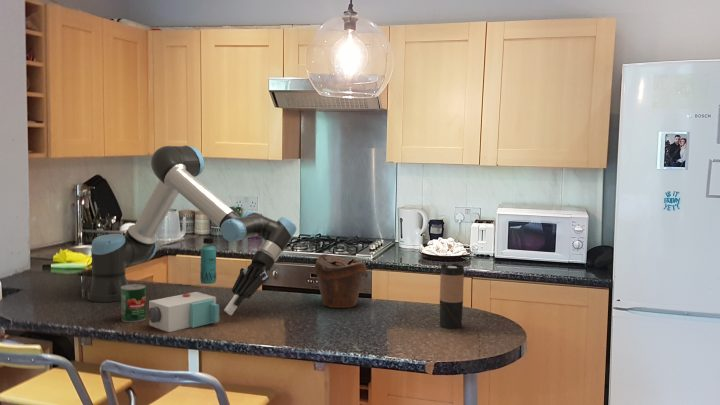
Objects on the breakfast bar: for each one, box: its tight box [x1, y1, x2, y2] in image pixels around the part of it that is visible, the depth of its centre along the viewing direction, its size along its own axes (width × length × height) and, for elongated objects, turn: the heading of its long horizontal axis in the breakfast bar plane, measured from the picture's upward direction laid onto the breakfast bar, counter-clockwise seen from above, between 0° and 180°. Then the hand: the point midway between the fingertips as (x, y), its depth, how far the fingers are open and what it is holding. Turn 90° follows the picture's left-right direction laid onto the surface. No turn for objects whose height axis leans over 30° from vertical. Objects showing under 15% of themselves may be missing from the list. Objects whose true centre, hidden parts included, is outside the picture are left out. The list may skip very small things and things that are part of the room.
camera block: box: [147, 291, 217, 333], centre depth 210 cm, size 11×20×9 cm, turn 139°
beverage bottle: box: [199, 237, 217, 285], centre depth 264 cm, size 6×7×20 cm
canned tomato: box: [120, 283, 147, 323], centre depth 215 cm, size 8×8×11 cm
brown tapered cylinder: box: [313, 253, 369, 309], centre depth 239 cm, size 18×20×18 cm
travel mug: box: [439, 263, 465, 329], centre depth 213 cm, size 8×8×20 cm
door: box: [189, 299, 220, 329], centre depth 207 cm, size 4×8×8 cm, turn 139°
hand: (227, 312), depth 213 cm, fingers closed
